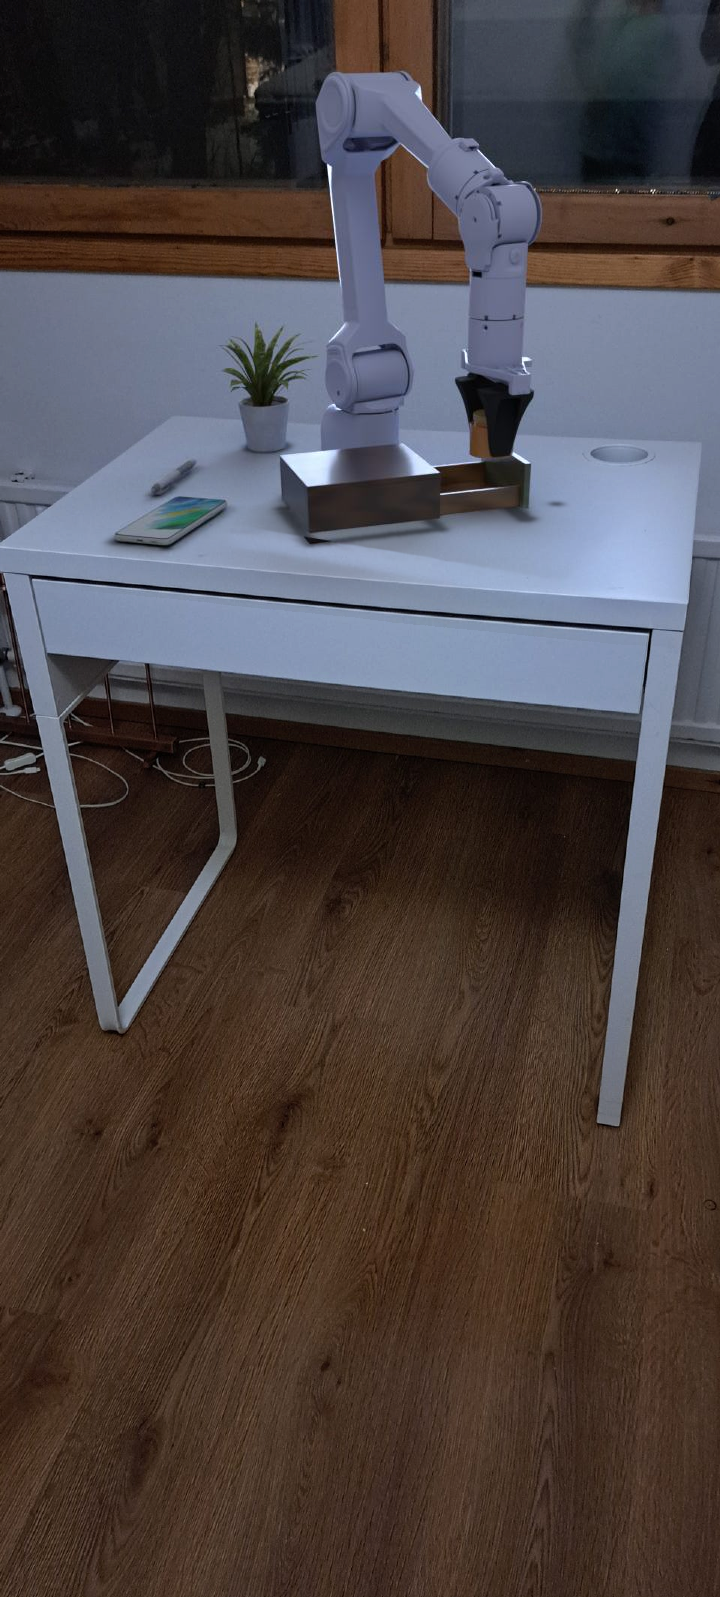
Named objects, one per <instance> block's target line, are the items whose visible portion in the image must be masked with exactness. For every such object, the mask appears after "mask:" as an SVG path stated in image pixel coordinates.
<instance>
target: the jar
mask: <svg viewBox="0 0 720 1597" xmlns="http://www.w3.org/2000/svg"><path fill="white" fill-rule="evenodd" d="M473 420H474V421H472V422H470V430H469V437H468V438H469V439H468V440H469V441H468V443H469V444H468V454H469V456H471V457H474V458H477V459H481V458H482V459H500V458H506V457H509V456H502V457H492V456H491V455H490V451H489V445H488V432H487V422H486V416H485V411H484V409H481V410H477V411H475V412H474V413H473ZM513 452H514V447H513V448H512V451H511V454H510V456H511V455H512V454H513Z"/></svg>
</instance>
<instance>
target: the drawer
mask: <svg viewBox="0 0 720 1597" xmlns="http://www.w3.org/2000/svg"><path fill="white" fill-rule="evenodd" d="M431 466H432V467H434V468H435V469H436V470H437V471H439V472H440V473H441V476H440V478H441V480H440V516H447V515H457V514H464V513H474V512H482V511H491V510H501V509H511V508H517V507H519V508H521V510H525V509H526V510H527V509H529V508H530V507H529V506H530V493H531V492H530V491H531V490H530V489H531V477H532V476H531V475H532V474H531V473H532V463H531V462H530V461H528V460H527V459H525V458H524V457H523V456H521V455H519V454H517V453H516V452H514V451H513V454H512V455H511V456H509V457H506V458H500V459H482V458H480V461H479V460H478V461H469V462H459V463H450V464H449V463H448V464H441V465H431Z"/></svg>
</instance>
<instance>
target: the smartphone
mask: <svg viewBox="0 0 720 1597" xmlns="http://www.w3.org/2000/svg"><path fill="white" fill-rule="evenodd" d="M227 507H228V501H227V500H226V499H221V498H220V499H219V498H206V497H194V496H193V497H192V496H174V497H172V498H171V499H169V500H168V501H166V502H164V503H163V504H161V505H159V506H158V507H156V508H154V509H153V510H151V511H149V512H148V513H146V514H144V515H143V516H142V517H139V518H138V519H136V520H135V521H133V522H132V523H130V524H128V525H127V526H125V527H123V528H121V529H120V530H118V531H116V532H115V533H114V536H113V537H114V540H115V541H117V542H125V543H135V544H147V545H158V546H170V545H171V544H173V543H174V542H176V541H178V540H179V539H181V538H182V537H184V536H185V535H187V534H188V533H190V532H191V531H193V530H194V529H196V528H197V527H198V526H199V527H200V526H201V525H202V524H203V523H204V522H206V521H207V520H209V519H211V518H213V517H214V516H216V515H217V514H219V513H221V512H222V511H223V510H225V509H226V508H227Z"/></svg>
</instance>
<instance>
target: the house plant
mask: <svg viewBox="0 0 720 1597" xmlns="http://www.w3.org/2000/svg"><path fill="white" fill-rule="evenodd" d="M284 327H285V325H282V326H281V327H280V328H279V330H278V331H277V332H276V333H275V334H274V335H273V338H272V339H271V341H270V343H269V344H268V346H267V345H266V342H265V339H264V338H263V332H262V331H261V329H259V325H258V324H257V322H255V324H254V345H253V352H252V350H251V348H250V347H249V345H248V343H247V342H246V341H245V340H244V339H242V338H240V337H237V336H234V338H235V339H238V340H240V341H241V342H242V343H243V344H244V345H245V347H246V349H247V350H248V353H249V355H250V357H251V360H252V363H253V366H252V363H251V361H250V358H249V357H248V354H247V353H246V352H245V351H244V349H243V348H242V347H241V346H240V345H239V344H238V343H237V342H236V341H235V340H233V339H231V338H232V336H229V337H231V338H228V340H229V342H230V343H229V342H228V341H226V340H225V343H226V344H222V345H219V347H221V348H222V350H224V351H225V352H226V353H228V354H229V356H230V357H231V358H232V359H233V360H234V361H235V363H236V364H237V365H238V366H239V368H240V370H242V372H243V373H241V372H240V371H239V370H237V369H235V368H233V367H232V368H231V367H227V368H224V369H222V370H221V372H224V373H227V374H229V375H232V376H234V377H235V378H237V379H231V381H230V385H229V388H231V391H230V393H232V392H234V391H235V390H238V389H244V390H245V391H246V392H247V393H248V394H249V396H247V397H243V398H241V399H240V400H238V402H237V404H238V409H239V414H240V418H241V423H242V427H243V431H244V436H245V440H246V445H247V449H248V450H249V451H252V452H259V453H260V452H261V453H271V452H277V451H281V450H283V449H284V448H285V447H286V439H287V431H288V419H289V410H290V402H291V401H290V399H289V398H288V397H285V396H283V395H282V396H281V395H278V394H279V393H280V392H281V391H282V390H283V389H284V388H285V389H286V390H287V391H289V382H290V381H293V380H298V379H299V380H301V379H303V380H307V381H309V382H310V379H308V378H306V377H308V375H307V374H306V373H304V371H311V370H313V369H309V368H307V369H301V370H291V371H288V372H287V371H286V372H285V373H284V374H283V372H284V371H285V370H286V369H287V368H289V367H291V366H293V365H295V364H297V363H300V362H302V361H306V360H310V359H316V358H317V357H319V355H305V356H297V357H294V358H293V357H292V358H290V359H287V358H288V357H289V356H290V355H291V354H292V353H294V352H295V351H300V350H303V348H295V347H297V346H300V345H303V344H307V343H313V342H314V340H313V341H312V340H311V341H310V340H309V341H305V342H304V341H303V342H300V343H298V344H295V345H292V346H291V344H292V343H293V342H294V340H296V338H298V337H299V336H300V335H302V334H303V332H302V333H301V332H300V333H297V334H295V335H293V336H292V337H291V338H289V339H288V340H287V341H286V342H285V343H283V346H282V347H281V348H280V349H279V351H278V352H277V353H276V355H275V356H273V355H274V350H275V347H279V344H277V342H278V339H279V337H280V335H281V333H282V332H283V330H284ZM224 347H226V348H228V349H229V350H231V351H232V352H233V353H234V354H235V356H236V357H237V358H238V359H239V361H240V363H241V364H240V363H239V361H238V360H237V359H236V358H235V357H234V356H233V355H232V354H231V352H230V351H229V350H228V349H226V348H224ZM266 347H267V349H266ZM293 348H295V349H293ZM291 349H292V350H291ZM290 350H291V351H290ZM289 351H290V352H289ZM288 352H289V353H288ZM286 353H288V354H287V355H286V356H285V354H286ZM284 356H285V358H284V359H283V357H284ZM272 359H273V360H272ZM282 359H283V361H282V362H281V360H282ZM286 359H287V360H286ZM280 362H281V363H280ZM243 374H244V375H245V376H244V375H243ZM292 374H294V375H292ZM298 374H301V375H298ZM290 375H292V376H290ZM303 375H305V376H306V377H304V376H303ZM287 376H289V377H287ZM286 377H287V378H286ZM238 379H239V380H238ZM240 384H242V385H243V386H242V387H241V386H237V385H240ZM281 386H282V387H281ZM280 387H281V388H280ZM279 388H280V390H279ZM278 390H279V391H278ZM277 391H278V392H277ZM276 392H277V394H276ZM230 393H229V394H230ZM275 394H276V395H275Z"/></svg>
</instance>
